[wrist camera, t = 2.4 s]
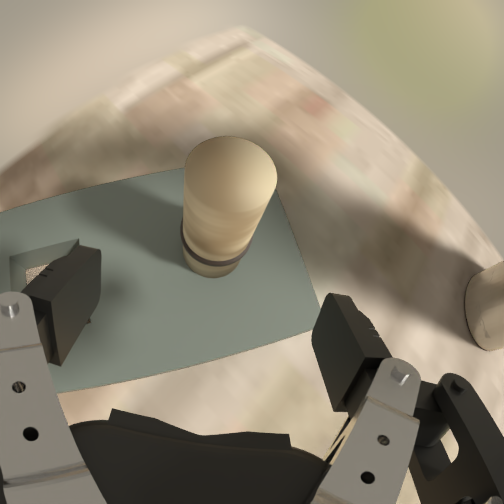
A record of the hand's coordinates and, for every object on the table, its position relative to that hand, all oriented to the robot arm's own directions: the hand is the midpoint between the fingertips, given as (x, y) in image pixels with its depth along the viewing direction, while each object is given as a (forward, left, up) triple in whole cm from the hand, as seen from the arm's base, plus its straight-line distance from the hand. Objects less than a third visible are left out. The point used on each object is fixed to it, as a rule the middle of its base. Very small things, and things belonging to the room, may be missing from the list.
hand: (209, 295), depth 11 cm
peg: (-2, -5, -9) cm, 11 cm away
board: (+4, -5, -12) cm, 14 cm away
